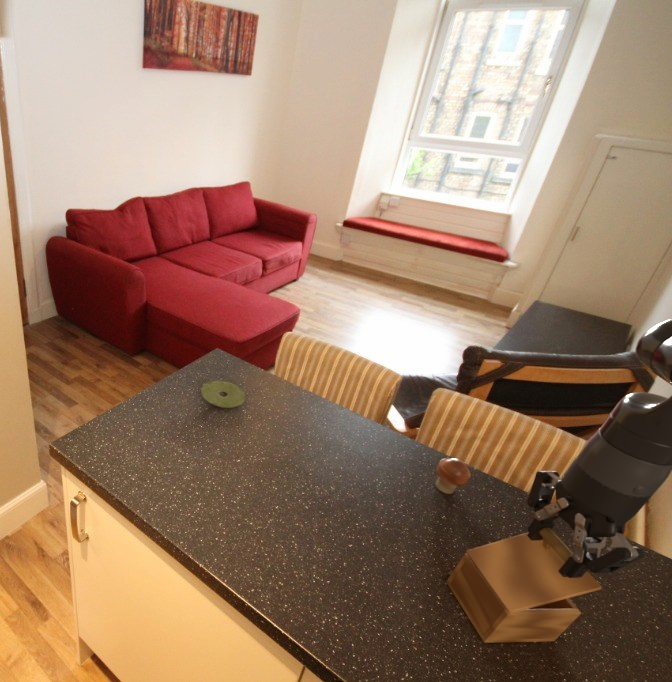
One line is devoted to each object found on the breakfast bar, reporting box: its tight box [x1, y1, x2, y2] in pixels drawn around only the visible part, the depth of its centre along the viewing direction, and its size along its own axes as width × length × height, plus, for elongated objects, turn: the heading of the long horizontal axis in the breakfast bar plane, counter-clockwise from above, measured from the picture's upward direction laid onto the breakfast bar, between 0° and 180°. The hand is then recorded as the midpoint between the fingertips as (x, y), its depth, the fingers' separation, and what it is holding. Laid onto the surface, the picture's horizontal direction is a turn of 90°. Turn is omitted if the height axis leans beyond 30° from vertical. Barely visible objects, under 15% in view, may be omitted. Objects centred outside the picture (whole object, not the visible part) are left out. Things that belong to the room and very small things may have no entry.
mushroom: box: [435, 457, 472, 495], centre depth 91 cm, size 6×6×7 cm
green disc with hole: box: [200, 380, 246, 409], centre depth 113 cm, size 11×11×2 cm
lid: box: [465, 527, 603, 614], centre depth 65 cm, size 12×9×5 cm
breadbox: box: [445, 553, 582, 644], centre depth 69 cm, size 11×9×8 cm
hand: (549, 555), depth 64 cm, fingers closed on lid, 5 cm apart
